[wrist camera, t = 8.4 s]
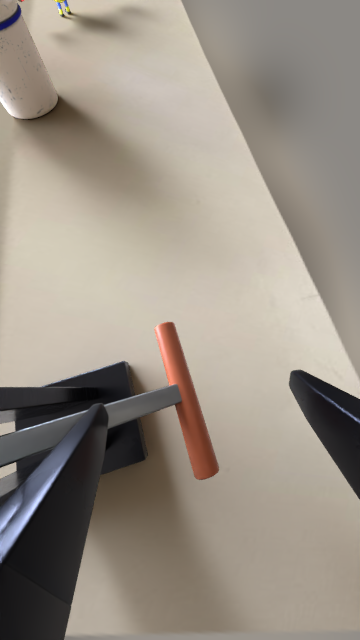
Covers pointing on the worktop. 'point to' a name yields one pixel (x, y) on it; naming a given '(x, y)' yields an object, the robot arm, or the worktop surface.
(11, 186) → the worktop surface
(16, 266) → the worktop surface
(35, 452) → the lever
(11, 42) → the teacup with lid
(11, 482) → the bracket
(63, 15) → the toy figure
